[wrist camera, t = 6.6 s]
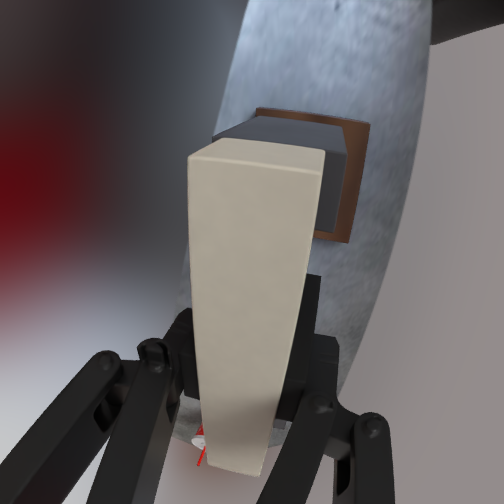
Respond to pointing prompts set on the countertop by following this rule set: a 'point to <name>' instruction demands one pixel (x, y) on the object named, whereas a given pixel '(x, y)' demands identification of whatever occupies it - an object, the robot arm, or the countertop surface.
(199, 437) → the beverage cup
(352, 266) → the countertop surface
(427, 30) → the countertop surface
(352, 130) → the headphone stand
